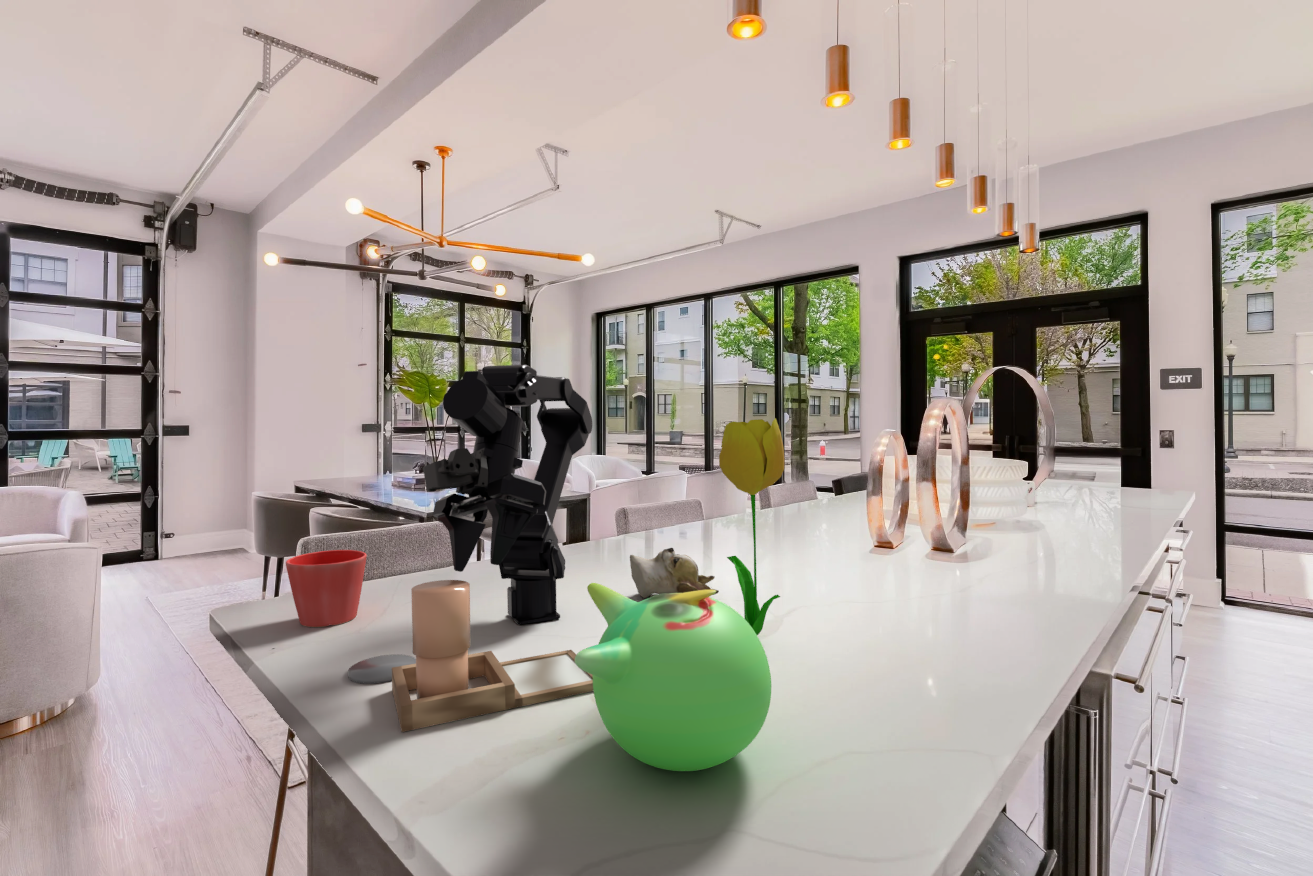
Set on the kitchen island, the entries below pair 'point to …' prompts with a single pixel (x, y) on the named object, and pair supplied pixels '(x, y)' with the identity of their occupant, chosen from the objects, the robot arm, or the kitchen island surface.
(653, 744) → the green round bird toy
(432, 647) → the tan stacked cylinder
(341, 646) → the kitchen island surface
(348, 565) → the flower pot
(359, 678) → the slate saucer
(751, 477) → the flower
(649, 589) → the ceramic sculpture
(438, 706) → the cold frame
